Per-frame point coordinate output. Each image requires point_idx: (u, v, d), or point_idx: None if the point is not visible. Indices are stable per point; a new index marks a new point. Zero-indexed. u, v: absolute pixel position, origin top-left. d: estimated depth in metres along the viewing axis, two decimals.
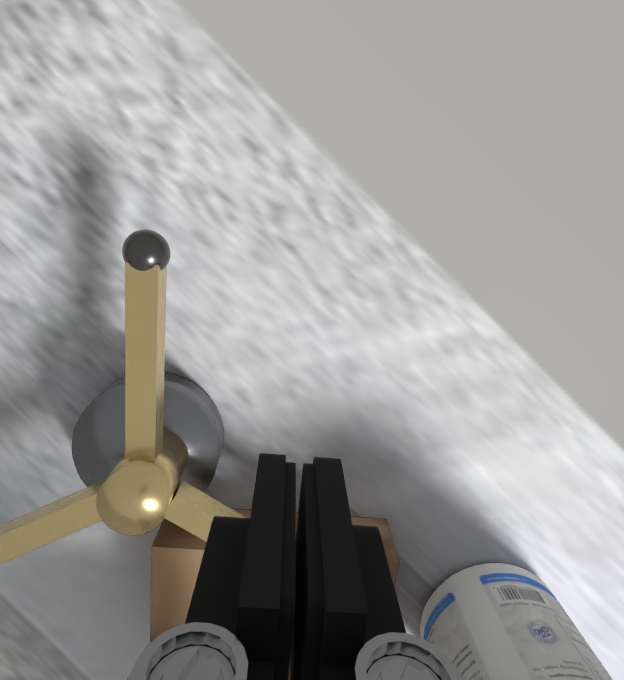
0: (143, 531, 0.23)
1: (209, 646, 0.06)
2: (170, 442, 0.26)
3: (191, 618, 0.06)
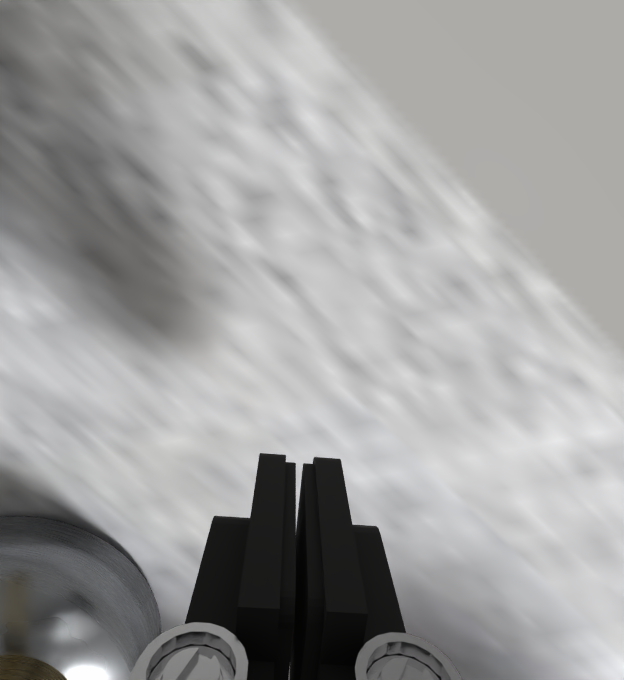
0: None
1: (209, 646, 0.06)
2: None
3: (191, 618, 0.06)
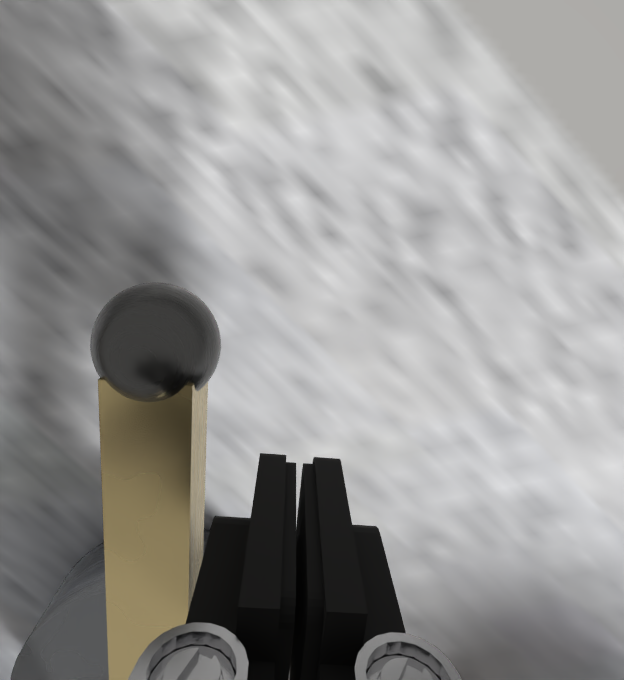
0: None
1: (209, 646, 0.06)
2: None
3: (191, 618, 0.06)
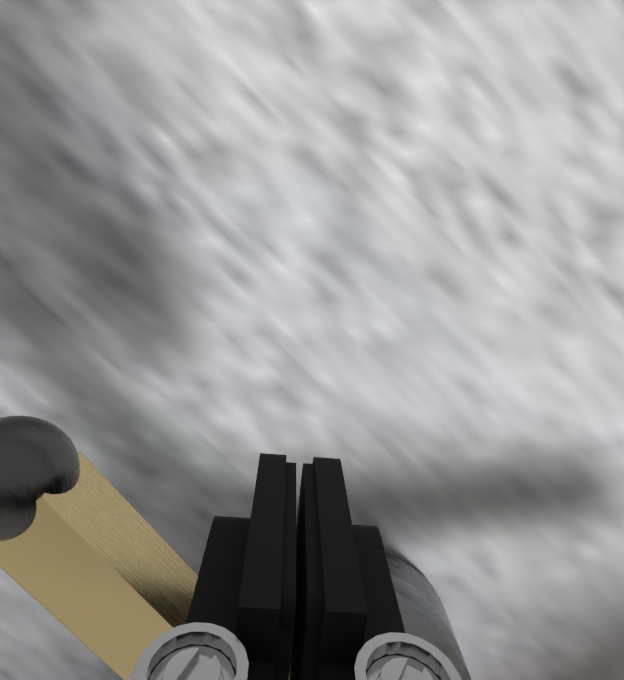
0: None
1: (210, 646, 0.06)
2: None
3: (192, 618, 0.06)
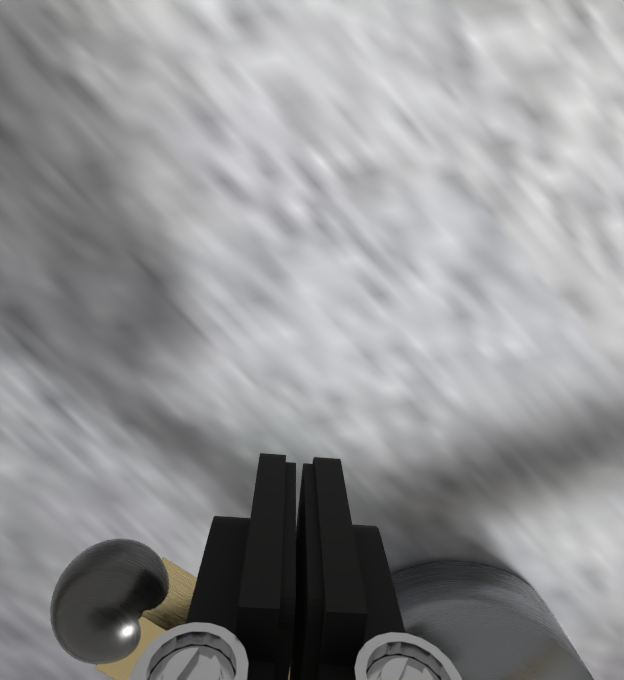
0: None
1: (209, 646, 0.06)
2: None
3: (191, 618, 0.06)
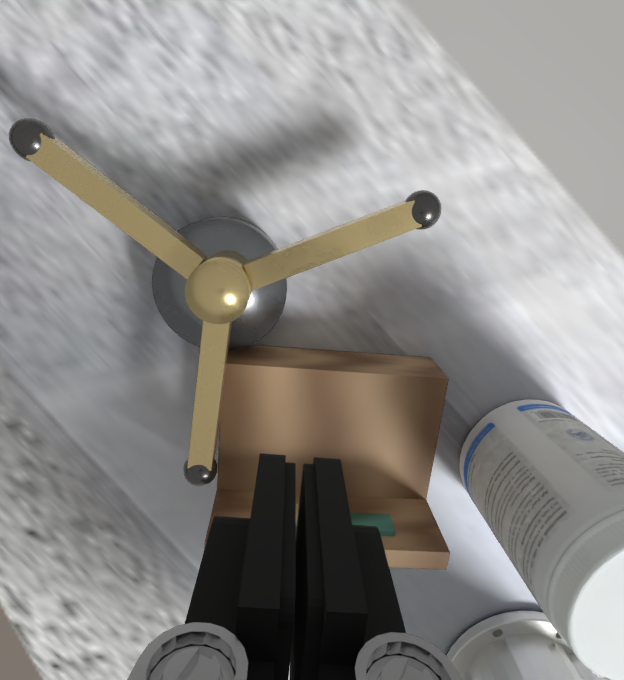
0: (245, 301, 0.24)
1: (209, 646, 0.06)
2: (215, 253, 0.27)
3: (191, 618, 0.06)
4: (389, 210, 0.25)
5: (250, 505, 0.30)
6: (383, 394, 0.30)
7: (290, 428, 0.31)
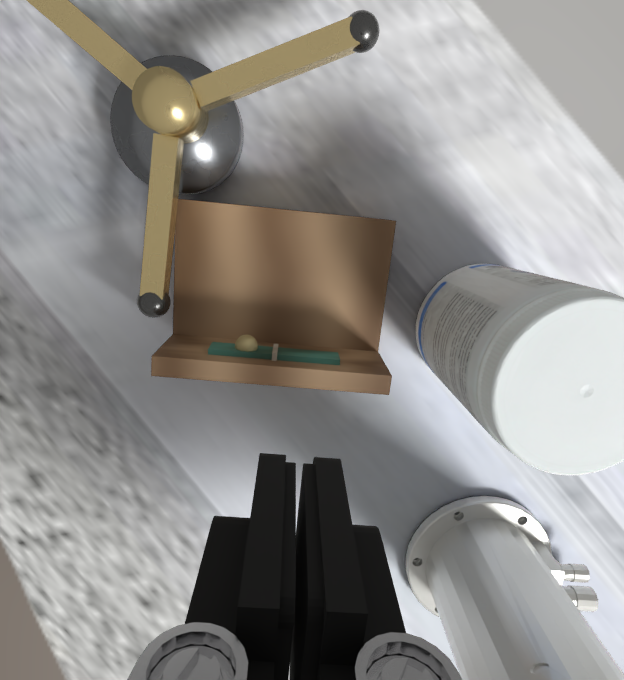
0: (189, 109, 0.26)
1: (209, 646, 0.06)
2: None
3: (191, 618, 0.06)
4: (328, 26, 0.26)
5: (202, 343, 0.31)
6: (332, 236, 0.31)
7: (242, 269, 0.32)
